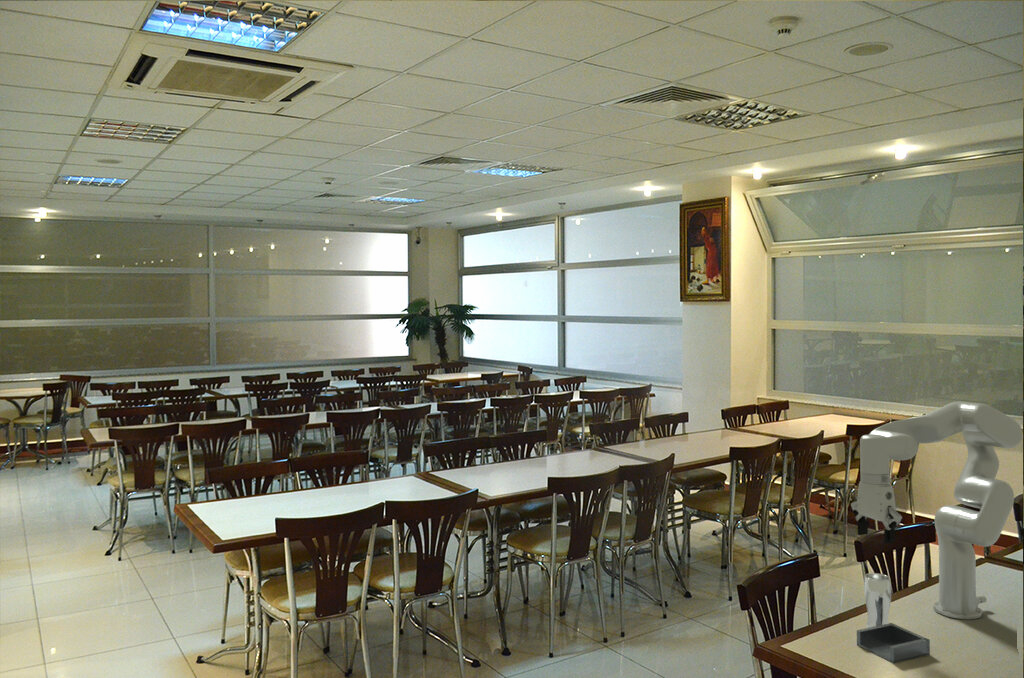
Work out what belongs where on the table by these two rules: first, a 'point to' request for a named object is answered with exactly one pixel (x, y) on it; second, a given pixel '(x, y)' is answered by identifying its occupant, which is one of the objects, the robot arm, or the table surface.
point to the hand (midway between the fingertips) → (875, 538)
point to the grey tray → (893, 642)
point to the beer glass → (877, 598)
